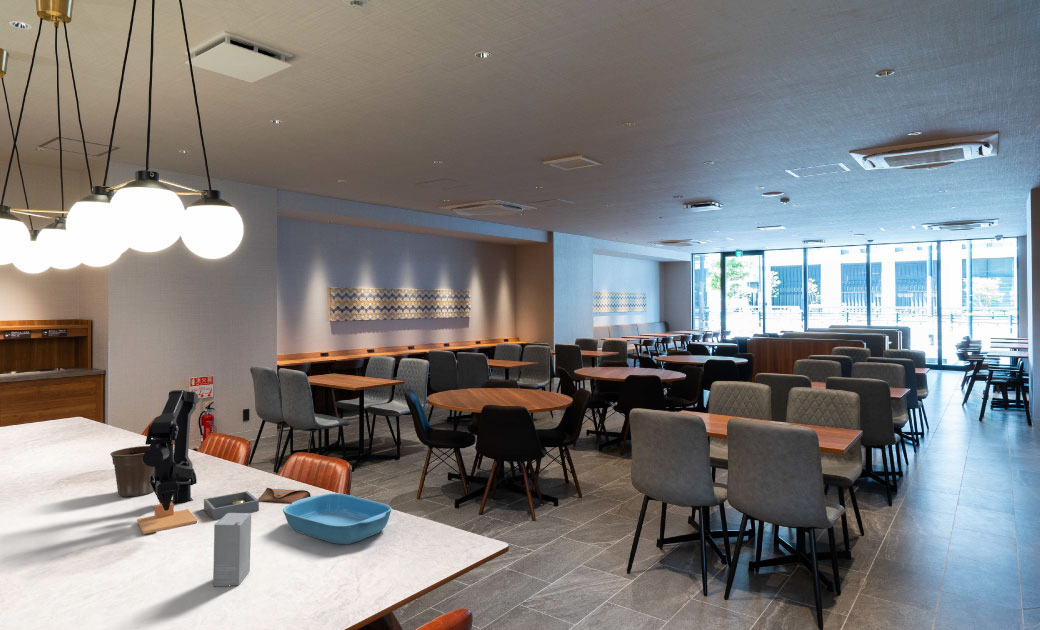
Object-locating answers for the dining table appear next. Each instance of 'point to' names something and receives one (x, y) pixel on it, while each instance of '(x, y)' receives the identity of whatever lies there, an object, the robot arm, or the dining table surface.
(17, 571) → the dining table surface
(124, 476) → the plant pot
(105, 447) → the dining table surface
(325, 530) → the casserole dish
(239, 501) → the part
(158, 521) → the lid
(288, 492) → the sunglasses case
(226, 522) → the skincare box
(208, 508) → the tub
